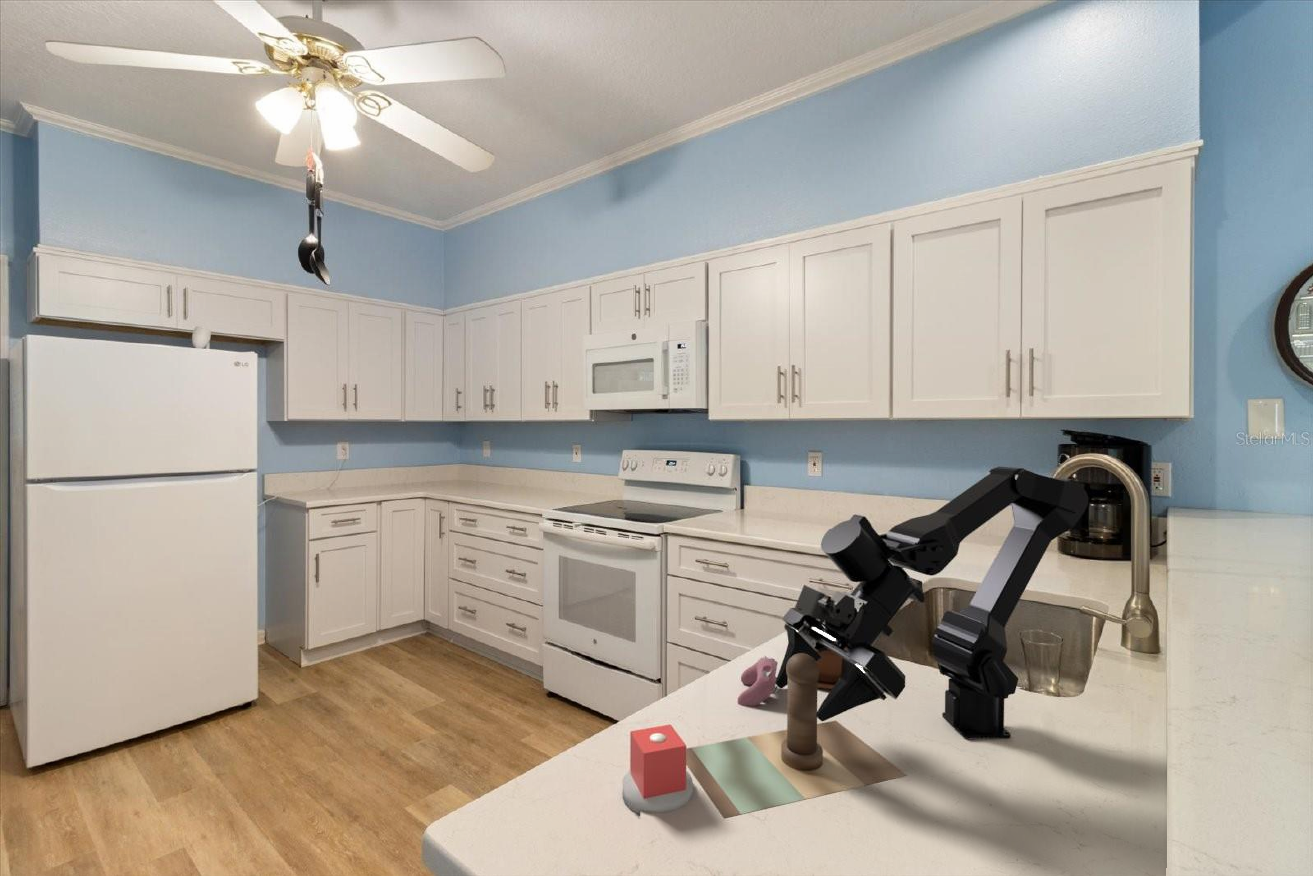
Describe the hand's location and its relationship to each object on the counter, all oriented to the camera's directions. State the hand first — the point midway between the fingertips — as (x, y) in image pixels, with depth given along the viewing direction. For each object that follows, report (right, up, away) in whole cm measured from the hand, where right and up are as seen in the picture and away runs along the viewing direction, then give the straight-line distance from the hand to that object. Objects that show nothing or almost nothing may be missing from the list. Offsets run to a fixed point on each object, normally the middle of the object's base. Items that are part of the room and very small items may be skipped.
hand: (797, 701), depth 75 cm
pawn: (+1, -7, 0) cm, 7 cm away
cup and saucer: (+11, -8, +25) cm, 29 cm away
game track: (-1, -8, 0) cm, 8 cm away
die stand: (-17, -8, -6) cm, 20 cm away
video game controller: (-2, -8, +19) cm, 21 cm away
